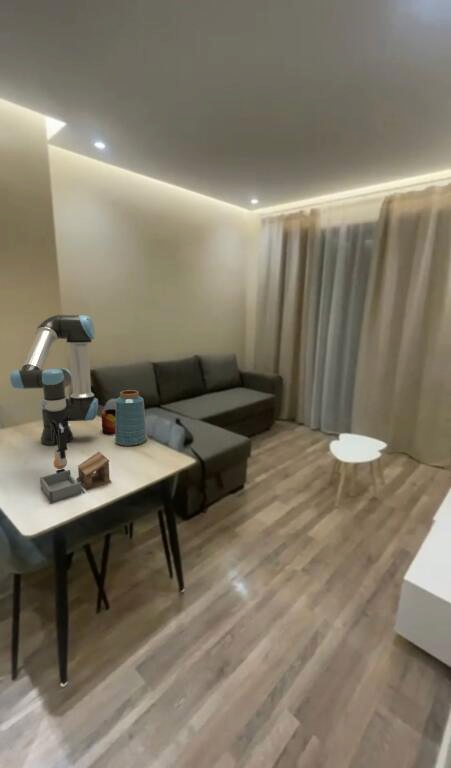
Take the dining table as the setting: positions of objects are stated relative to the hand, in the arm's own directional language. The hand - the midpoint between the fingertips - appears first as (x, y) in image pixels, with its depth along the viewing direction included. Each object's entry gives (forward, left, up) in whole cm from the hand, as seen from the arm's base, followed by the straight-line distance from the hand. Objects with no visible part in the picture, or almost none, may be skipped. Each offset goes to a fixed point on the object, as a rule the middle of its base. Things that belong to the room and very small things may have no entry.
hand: (60, 462), depth 142 cm
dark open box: (0, 0, -6) cm, 6 cm away
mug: (-37, +39, -6) cm, 54 cm away
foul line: (+12, +3, -6) cm, 14 cm away
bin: (+12, -4, -6) cm, 14 cm away
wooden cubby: (+12, +9, -6) cm, 16 cm away
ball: (0, 0, 0) cm, 0 cm away
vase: (-19, +40, -6) cm, 44 cm away
